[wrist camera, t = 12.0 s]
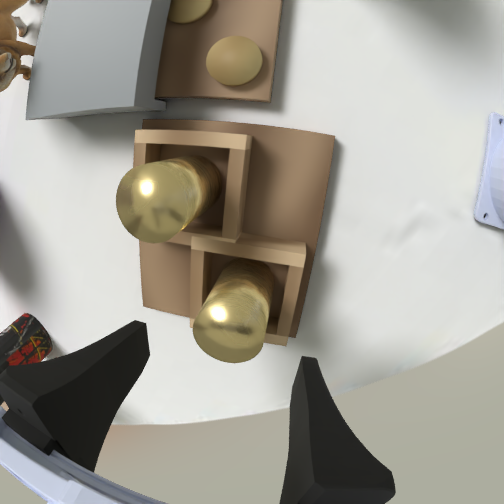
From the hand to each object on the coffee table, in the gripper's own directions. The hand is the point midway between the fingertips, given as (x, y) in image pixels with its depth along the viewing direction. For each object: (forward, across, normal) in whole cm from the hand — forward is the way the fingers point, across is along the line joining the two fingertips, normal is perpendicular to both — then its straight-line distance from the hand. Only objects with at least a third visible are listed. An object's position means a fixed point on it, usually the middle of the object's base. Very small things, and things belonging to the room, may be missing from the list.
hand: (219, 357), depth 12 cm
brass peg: (+8, 0, 0) cm, 8 cm away
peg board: (+8, +2, -3) cm, 9 cm away
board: (+9, +4, -16) cm, 19 cm away
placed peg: (+8, +4, -6) cm, 11 cm away
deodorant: (+9, +26, +14) cm, 31 cm away
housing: (+8, +12, -16) cm, 22 cm away
